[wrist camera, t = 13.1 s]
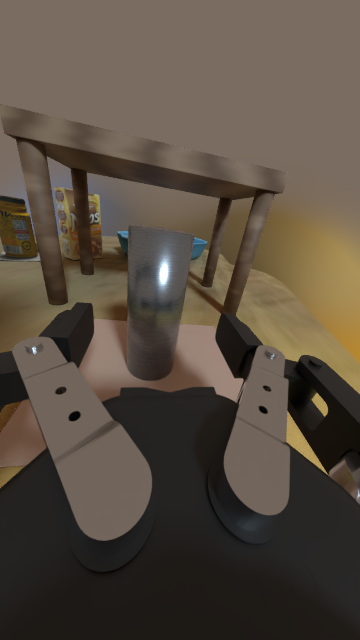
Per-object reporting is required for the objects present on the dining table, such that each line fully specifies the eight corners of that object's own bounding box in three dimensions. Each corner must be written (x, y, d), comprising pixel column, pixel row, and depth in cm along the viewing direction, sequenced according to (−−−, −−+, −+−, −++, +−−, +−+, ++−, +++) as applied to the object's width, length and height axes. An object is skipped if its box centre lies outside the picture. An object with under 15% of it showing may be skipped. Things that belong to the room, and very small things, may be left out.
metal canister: (123, 381, 16) (124, 227, 11) (129, 348, 20) (131, 223, 14) (175, 381, 17) (201, 238, 11) (170, 349, 21) (188, 231, 15)
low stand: (42, 305, 26) (-3, 103, 17) (82, 270, 42) (70, 155, 32) (239, 318, 32) (289, 173, 23) (210, 283, 48) (233, 188, 38)
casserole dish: (156, 270, 52) (158, 243, 48) (103, 252, 61) (102, 228, 58) (211, 259, 80) (215, 241, 77) (169, 248, 90) (171, 232, 86)
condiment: (39, 253, 49) (29, 199, 44) (41, 261, 43) (29, 200, 38) (2, 252, 45) (-15, 192, 40) (-2, 261, 39) (-22, 193, 34)
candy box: (72, 261, 47) (64, 187, 40) (63, 257, 49) (53, 186, 42) (103, 258, 54) (100, 195, 47) (93, 254, 56) (89, 193, 49)
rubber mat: (-17, 468, 10) (-21, 462, 10) (79, 322, 24) (78, 317, 24) (274, 447, 14) (277, 443, 13) (212, 329, 28) (213, 326, 27)
